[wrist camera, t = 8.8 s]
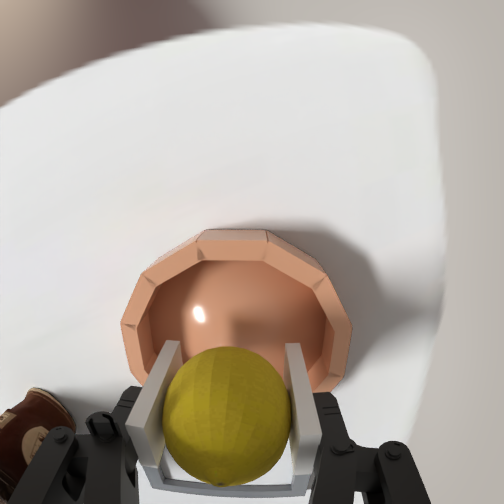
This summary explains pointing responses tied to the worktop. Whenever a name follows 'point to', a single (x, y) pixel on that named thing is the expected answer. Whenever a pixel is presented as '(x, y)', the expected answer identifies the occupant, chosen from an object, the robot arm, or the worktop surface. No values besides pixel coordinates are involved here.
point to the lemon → (226, 416)
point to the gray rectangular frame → (295, 489)
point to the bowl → (238, 305)
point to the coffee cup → (26, 435)
